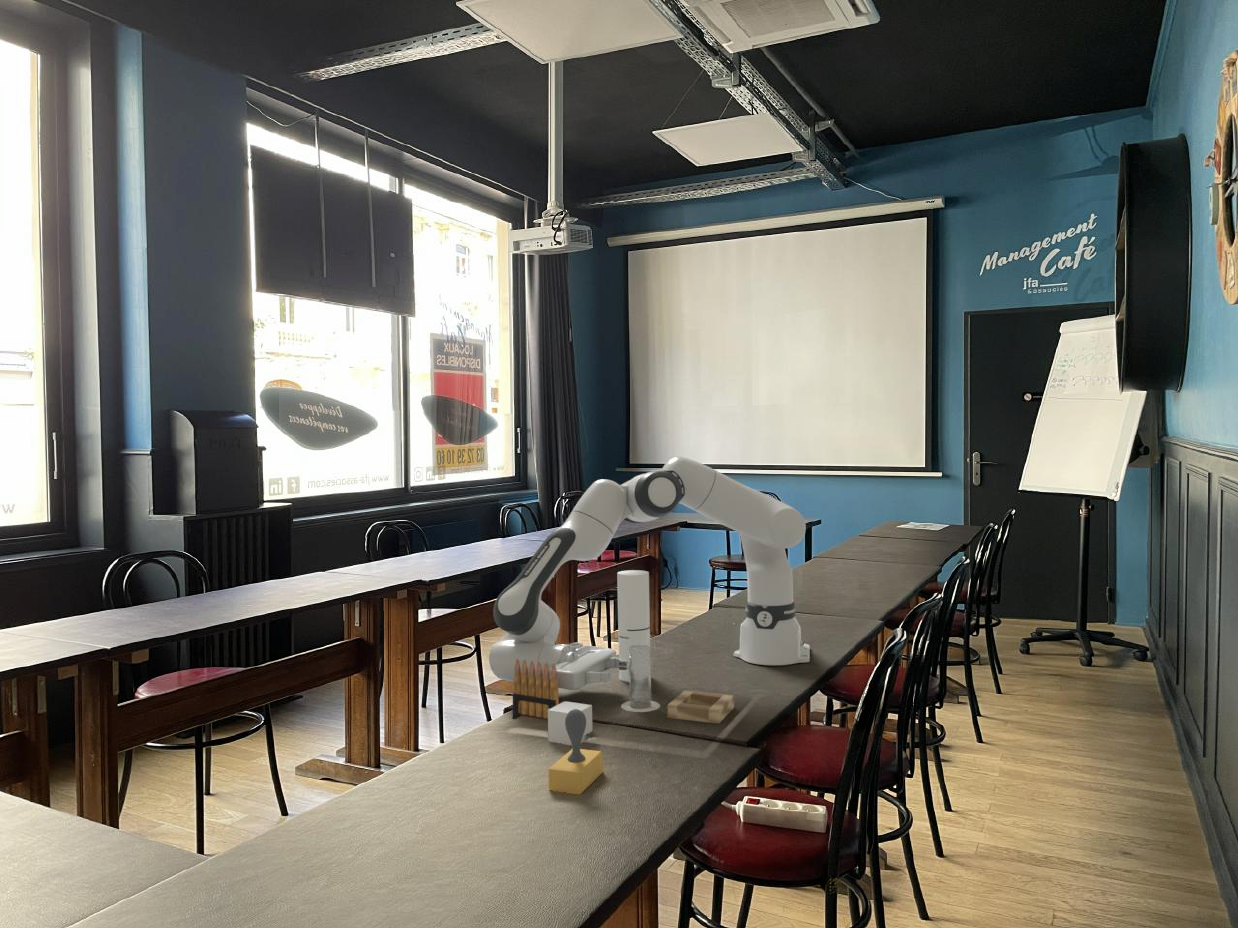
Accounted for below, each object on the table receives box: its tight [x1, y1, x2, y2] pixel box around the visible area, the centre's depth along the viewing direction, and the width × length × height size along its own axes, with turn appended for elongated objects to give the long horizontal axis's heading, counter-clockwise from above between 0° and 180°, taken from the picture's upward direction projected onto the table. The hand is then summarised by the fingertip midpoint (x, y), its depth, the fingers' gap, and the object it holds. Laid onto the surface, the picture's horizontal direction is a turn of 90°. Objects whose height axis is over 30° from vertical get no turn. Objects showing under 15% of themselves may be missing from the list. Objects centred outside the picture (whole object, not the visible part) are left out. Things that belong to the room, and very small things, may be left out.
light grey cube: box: [547, 700, 593, 746], centre depth 170 cm, size 6×6×6 cm
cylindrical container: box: [616, 569, 651, 683], centre depth 206 cm, size 7×7×25 cm
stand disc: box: [620, 700, 661, 713], centre depth 186 cm, size 8×8×1 cm
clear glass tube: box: [628, 645, 652, 709], centre depth 185 cm, size 4×4×12 cm
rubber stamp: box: [547, 709, 604, 796], centre depth 149 cm, size 10×6×12 cm, turn 160°
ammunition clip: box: [512, 659, 561, 721], centre depth 180 cm, size 11×2×12 cm, turn 60°
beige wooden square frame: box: [666, 690, 735, 724], centre depth 180 cm, size 10×10×4 cm
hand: (619, 671), depth 187 cm, fingers open, 8 cm apart
